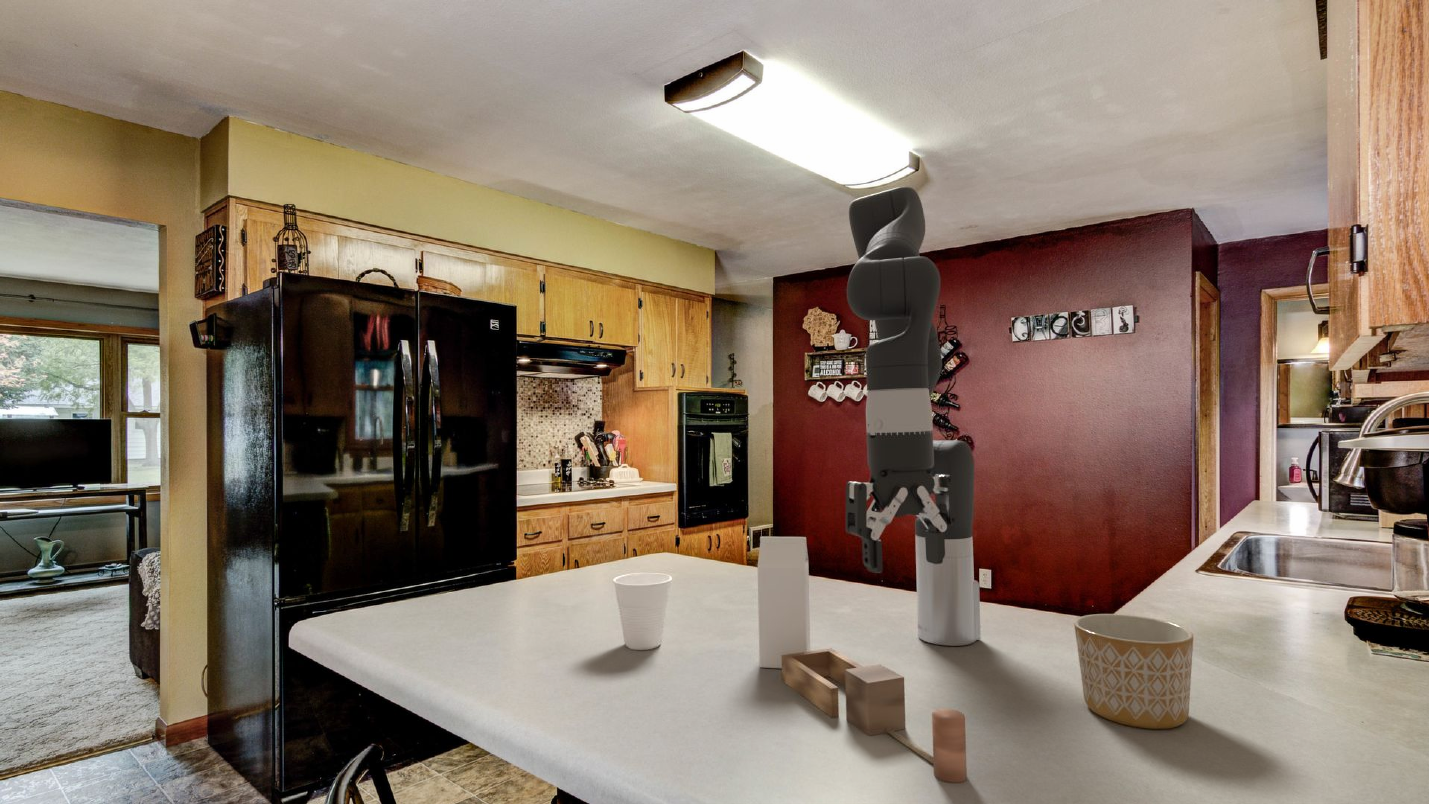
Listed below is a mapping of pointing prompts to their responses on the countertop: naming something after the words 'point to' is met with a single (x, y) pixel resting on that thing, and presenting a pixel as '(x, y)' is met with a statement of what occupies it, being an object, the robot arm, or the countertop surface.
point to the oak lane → (817, 676)
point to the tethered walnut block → (882, 709)
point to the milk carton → (783, 599)
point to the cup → (642, 608)
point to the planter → (1135, 669)
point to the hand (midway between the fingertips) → (905, 567)
